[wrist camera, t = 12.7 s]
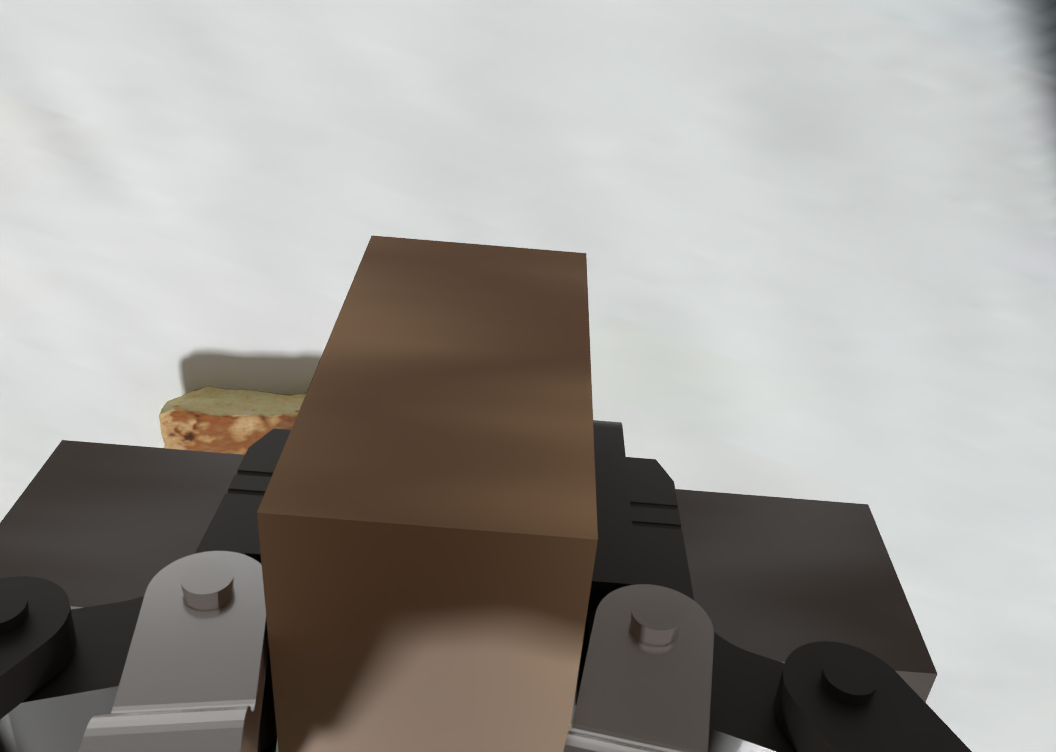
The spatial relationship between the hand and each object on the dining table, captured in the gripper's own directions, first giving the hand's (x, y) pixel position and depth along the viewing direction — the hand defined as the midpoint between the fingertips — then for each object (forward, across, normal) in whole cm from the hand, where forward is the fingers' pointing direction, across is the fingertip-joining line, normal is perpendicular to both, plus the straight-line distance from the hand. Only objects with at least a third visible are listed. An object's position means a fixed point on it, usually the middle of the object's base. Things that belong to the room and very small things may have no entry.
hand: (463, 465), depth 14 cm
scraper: (+1, 0, -1) cm, 2 cm away
